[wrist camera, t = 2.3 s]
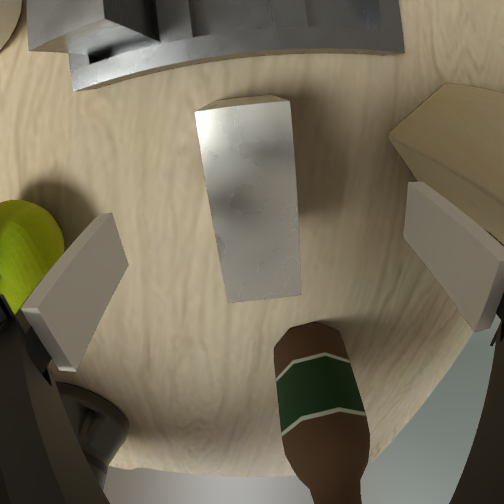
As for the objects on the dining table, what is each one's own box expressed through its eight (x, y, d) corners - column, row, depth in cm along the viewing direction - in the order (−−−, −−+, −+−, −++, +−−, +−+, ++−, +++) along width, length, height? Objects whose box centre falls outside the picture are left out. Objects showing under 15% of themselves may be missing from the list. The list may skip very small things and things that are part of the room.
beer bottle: (319, 307, 31) (382, 562, 10) (354, 346, 34) (414, 551, 13) (257, 345, 33) (270, 580, 12) (298, 377, 36) (325, 573, 15)
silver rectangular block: (232, 224, 26) (227, 302, 17) (214, 101, 21) (194, 111, 12) (281, 219, 26) (301, 295, 17) (270, 94, 21) (289, 100, 12)
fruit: (10, 256, 27) (-42, 314, 18) (10, 174, 23) (-61, 220, 14) (80, 284, 29) (37, 356, 20) (89, 200, 24) (27, 262, 16)
